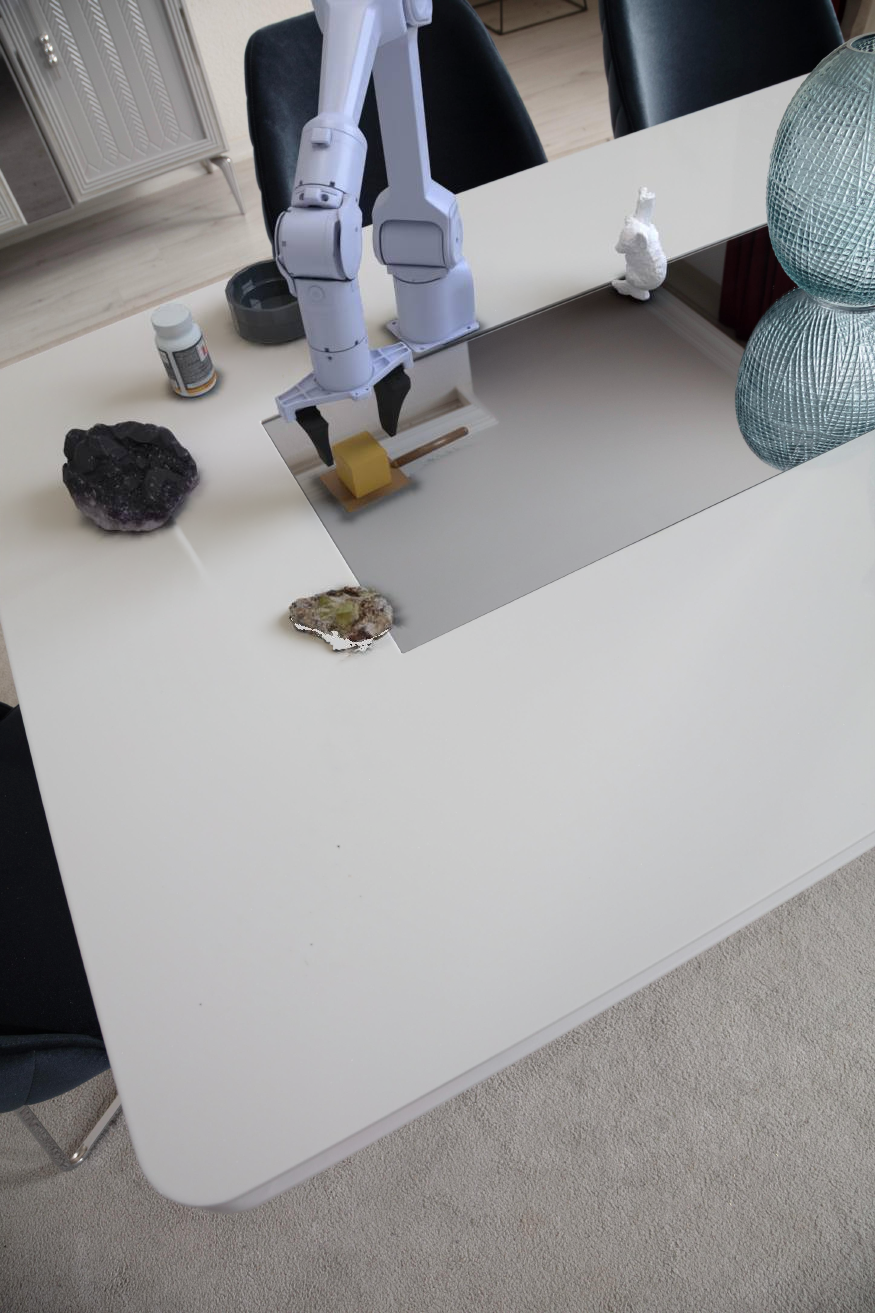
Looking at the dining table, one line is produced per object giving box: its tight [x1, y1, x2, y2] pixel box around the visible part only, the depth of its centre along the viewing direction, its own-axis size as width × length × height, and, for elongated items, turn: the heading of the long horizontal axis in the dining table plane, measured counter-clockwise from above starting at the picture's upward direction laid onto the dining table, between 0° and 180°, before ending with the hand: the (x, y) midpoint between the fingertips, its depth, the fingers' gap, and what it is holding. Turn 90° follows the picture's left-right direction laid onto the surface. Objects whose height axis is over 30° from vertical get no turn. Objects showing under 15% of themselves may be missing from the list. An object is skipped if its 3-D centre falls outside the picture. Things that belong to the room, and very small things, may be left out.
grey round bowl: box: [224, 257, 306, 344], centre depth 122 cm, size 12×12×5 cm
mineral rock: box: [288, 584, 395, 649], centre depth 90 cm, size 11×4×8 cm
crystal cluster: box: [61, 420, 200, 533], centre depth 102 cm, size 13×14×10 cm
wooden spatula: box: [318, 426, 469, 514], centre depth 104 cm, size 18×7×1 cm, turn 122°
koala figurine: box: [611, 186, 668, 301], centre depth 116 cm, size 8×7×12 cm
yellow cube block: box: [331, 429, 392, 499], centre depth 101 cm, size 4×4×4 cm
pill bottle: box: [150, 302, 217, 397], centre depth 112 cm, size 6×6×10 cm
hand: (358, 445), depth 99 cm, fingers open, 7 cm apart
